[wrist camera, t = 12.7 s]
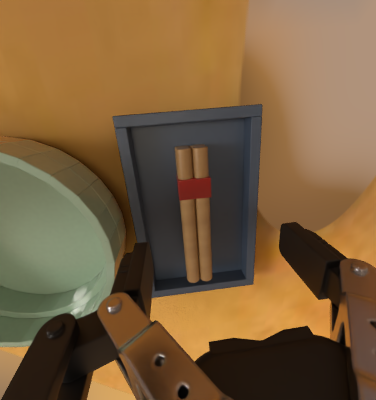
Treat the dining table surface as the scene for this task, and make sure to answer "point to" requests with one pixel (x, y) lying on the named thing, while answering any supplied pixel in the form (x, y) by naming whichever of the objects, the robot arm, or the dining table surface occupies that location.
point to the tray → (169, 199)
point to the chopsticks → (195, 209)
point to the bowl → (52, 238)
